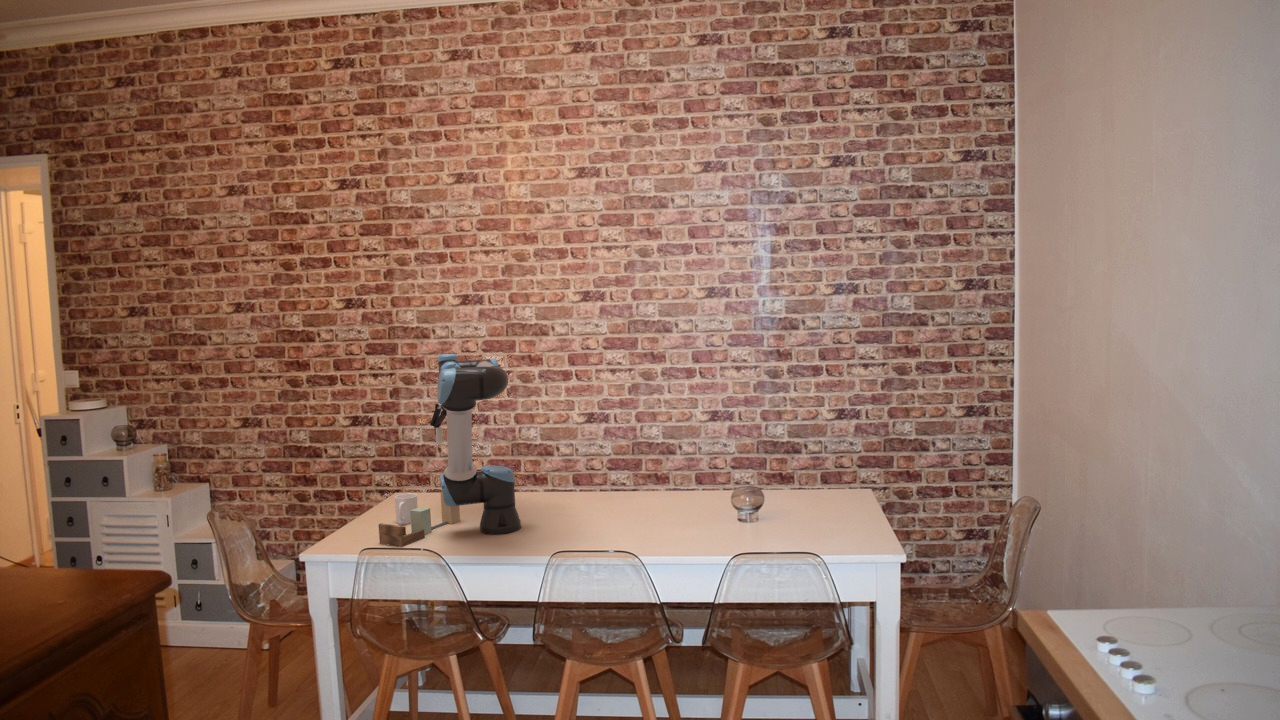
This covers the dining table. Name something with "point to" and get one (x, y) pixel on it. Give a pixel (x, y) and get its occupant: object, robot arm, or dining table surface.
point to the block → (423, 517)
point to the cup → (405, 507)
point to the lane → (398, 535)
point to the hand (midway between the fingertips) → (452, 444)
